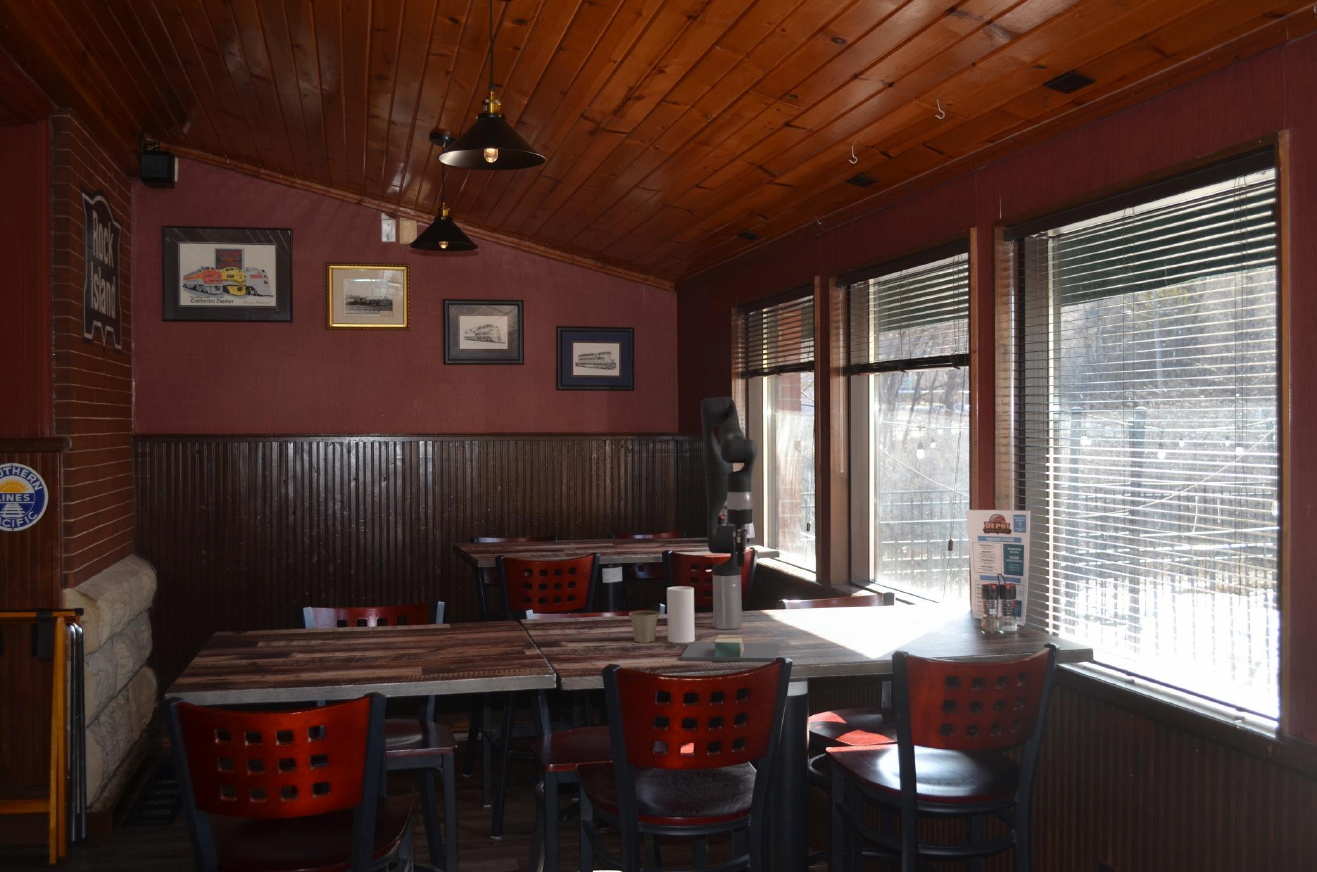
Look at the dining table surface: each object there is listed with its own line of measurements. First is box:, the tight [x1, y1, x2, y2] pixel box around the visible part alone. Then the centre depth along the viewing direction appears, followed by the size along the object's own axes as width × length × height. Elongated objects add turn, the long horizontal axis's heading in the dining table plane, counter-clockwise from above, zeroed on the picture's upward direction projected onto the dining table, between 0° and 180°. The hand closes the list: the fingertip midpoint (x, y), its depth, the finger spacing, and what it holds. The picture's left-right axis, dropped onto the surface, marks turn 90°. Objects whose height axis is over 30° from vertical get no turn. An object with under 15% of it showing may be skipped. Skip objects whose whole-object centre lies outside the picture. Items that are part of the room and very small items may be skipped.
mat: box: [680, 641, 780, 663], centre depth 306 cm, size 22×26×1 cm
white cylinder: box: [666, 585, 696, 644], centre depth 328 cm, size 8×8×16 cm
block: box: [714, 634, 745, 657], centre depth 302 cm, size 4×7×11 cm
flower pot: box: [628, 610, 660, 644], centre depth 328 cm, size 9×9×9 cm
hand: (741, 566), depth 315 cm, fingers closed
